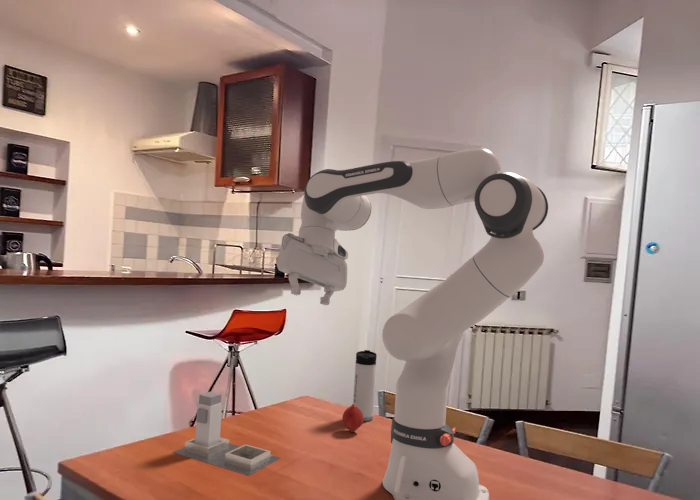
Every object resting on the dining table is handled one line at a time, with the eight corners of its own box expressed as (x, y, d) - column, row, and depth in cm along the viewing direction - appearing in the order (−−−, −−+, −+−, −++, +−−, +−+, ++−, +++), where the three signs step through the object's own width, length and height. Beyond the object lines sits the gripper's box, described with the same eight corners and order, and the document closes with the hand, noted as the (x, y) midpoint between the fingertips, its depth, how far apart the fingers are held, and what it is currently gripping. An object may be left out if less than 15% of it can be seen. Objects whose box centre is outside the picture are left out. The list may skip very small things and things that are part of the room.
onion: (338, 429, 150) (340, 400, 150) (356, 427, 152) (358, 399, 152) (346, 436, 144) (348, 406, 145) (365, 434, 147) (367, 405, 147)
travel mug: (373, 415, 164) (377, 350, 164) (372, 422, 158) (376, 354, 158) (353, 413, 165) (357, 349, 165) (351, 420, 158) (355, 353, 158)
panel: (280, 462, 124) (281, 449, 124) (248, 480, 114) (249, 466, 114) (207, 441, 134) (208, 429, 134) (172, 456, 124) (173, 443, 124)
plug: (219, 448, 128) (222, 394, 128) (205, 454, 123) (208, 398, 123) (206, 444, 129) (209, 391, 129) (192, 450, 125) (195, 395, 125)
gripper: (293, 227, 121) (286, 285, 116) (352, 255, 135) (349, 308, 130) (274, 233, 125) (267, 289, 120) (334, 259, 139) (330, 311, 134)
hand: (310, 299), depth 125 cm, fingers open, 8 cm apart
